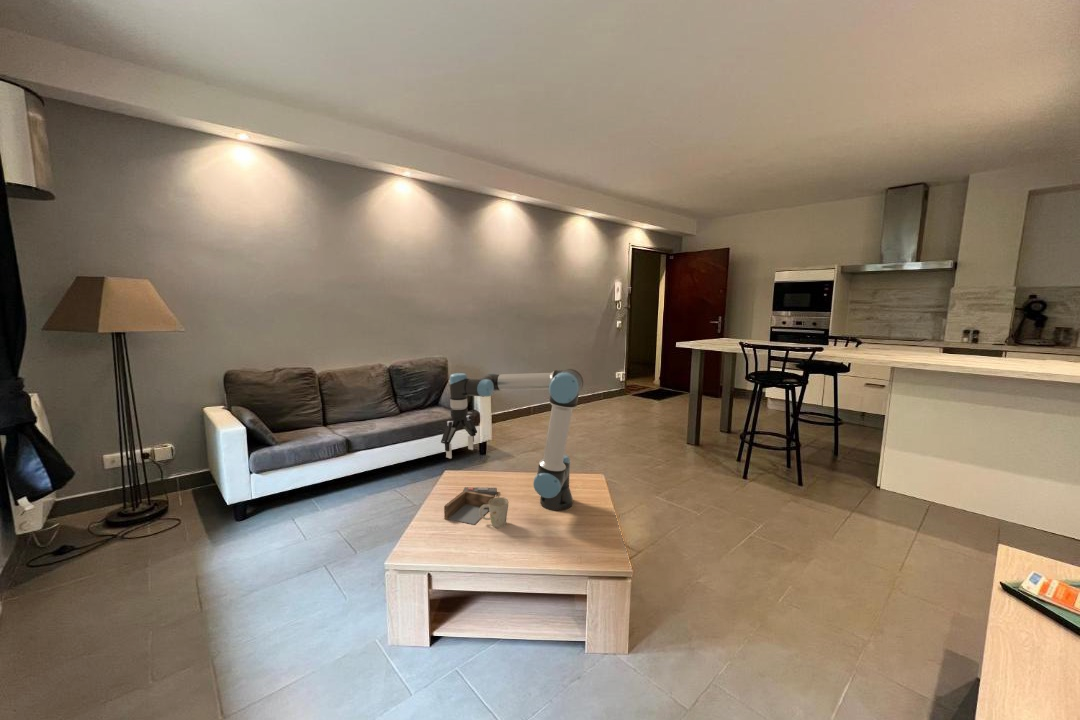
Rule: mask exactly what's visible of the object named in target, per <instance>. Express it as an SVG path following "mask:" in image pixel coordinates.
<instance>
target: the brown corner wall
mask: <svg viewBox="0 0 1080 720" xmlns="http://www.w3.org/2000/svg"><path fill="white" fill-rule="evenodd" d="M492 498H495V495H487V494H482V493H476V492H471V491H463V490H462V492H459V494H457V495H456V496H455V497H453V498H452V499H451V500H450V501H448V502H447V503H445V504H444V505H443V506H444V507H443V511H444V513H443V515H444V520H446V521H448V520H449V519H448V518H450V517H451V516H452V515H453V514H454V513H456V512H457V511H458V510H459V509H460V508H462V507H463V506H464V505H465V504H468V505H473V506H478V507H481V506H482V505H489V500H490V499H492ZM488 509H489V508H488Z"/></svg>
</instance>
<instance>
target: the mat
mask: <svg viewBox="0 0 1080 720" xmlns="http://www.w3.org/2000/svg"><path fill="white" fill-rule="evenodd" d="M479 509H480V507H478V506H473V505H468V504H465V505H464V506H463V507H462V508H460V509H459V510H458V511H457V512H456V513H454V514H453V515H452V516H451V517H450V518H448V520H450V521H454V522H459V523H462V524H463V523H465V524H469V525H473V526H474V525H476V524H477V523H478V522H479V521H480V520H482V518H481V517H480V515H479ZM488 512H490V511H489V509H488V508H483V510H482V515H483V516H484V517H485V515H486V514H487V513H488Z"/></svg>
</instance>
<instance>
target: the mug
mask: <svg viewBox="0 0 1080 720" xmlns="http://www.w3.org/2000/svg"><path fill="white" fill-rule="evenodd" d="M483 508H489V511H488V512H489V516H490V517H486V516H485V515H484V516H483V515H482V510H483ZM508 510H509V499H508V498H505V497H502V496H501V497H500V496H497V497H494V498H492V499H490V500H489V505H482V506H481V507H480V509H479V515H480V517H481V519H483V520H485V521H490V523H491V526H492V527H493V528H498V529H500V528H503V527H505V526H506V524H507V517H508Z"/></svg>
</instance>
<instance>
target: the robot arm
mask: <svg viewBox="0 0 1080 720" xmlns="http://www.w3.org/2000/svg"><path fill="white" fill-rule="evenodd" d="M584 382H585V381H584V378H583V375H582V374H581V373H580V372H579V371H578V370H576V369H573V368H566V369H558V370H553V371H552V372H540V373H539V372H537V373H536V372H533V373H531V372H530V373H507V374H506V373H505V374H504V373H503V374H497V373H489V374H486V375H484V376H482V377H480V378H468V376H467V374H466V373H462V372H461V373H460V372H456V373H451V374H450V375H449V384H448V385H449V394H450V397H449V398H450V399H449V400H450V401H449V402H450V403H449V404H450V406H449V407H450V417H451V420H446V421H445V429H444V431H443V434H442V436H441V441H440V443H441V444H443V445H444V450H445V454H446V455H445V458H448V459H450V460H451V459H452V458H453V455H452V454H453V453H452V451H453V450H452V443H451V442H452V440H453V438H454V436H455V434H456V432H457V431H458V430H460V429H462V428H463V429H464V431H466V433H468V434H467V449H468V450H471V451H474V442H475V437H476V436H477V434H478V430H477V427H476V425H475V423H474V420H473V416H472V415H469V414H468V411H469V410H468V396H472V397H483V398H485V397H491V396H492V395H493V393H494V391H496V392H497V391H498V392H499V391H532V390H533V391H536V390H537V391H540V390H541V391H543V390H548V392H549V403H550V405H551V411H550V417H549V423H548V428H547V429H548V430H547V435H546V440H545V447H544V451H543V452H544V453H543V458H541V459H540V460H539V462H538V467H537V472H536V475H535V476H534V479H533V488H534V490H535V492H536V493H537V494H538V495H539V497H540V499H539V500H540V502H539V503H540V504H539V505H540V506H541V507H543V508H545V509H546V510H549V511H550V510H551V511H564V510H565V511H566V510H568V509H570V508H571V507H572V506H573V503H574V500H573V494H572V492H571V489H570V466H571V465H570V464H571V462H570V460H571V459H570V457H569V456H568V455H566V454H565V452H566V447H567V443H568V436H569V430H570V425H571V420H572V413H573V410H574V409H576V408H577V405H578V402H579V401H578V400H579V395H580V392H581V391H582V389H583V387H584Z"/></svg>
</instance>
